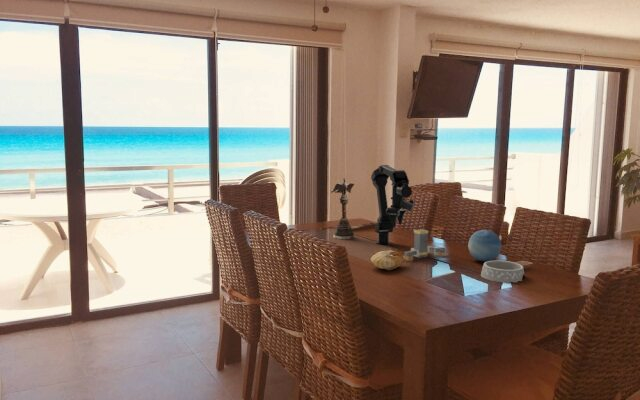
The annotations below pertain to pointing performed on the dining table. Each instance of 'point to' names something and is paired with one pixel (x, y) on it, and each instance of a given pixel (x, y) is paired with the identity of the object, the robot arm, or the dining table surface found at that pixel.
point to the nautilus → (388, 259)
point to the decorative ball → (484, 245)
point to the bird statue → (343, 211)
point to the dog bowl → (502, 271)
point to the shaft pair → (432, 250)
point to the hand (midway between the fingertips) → (397, 225)
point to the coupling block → (421, 242)
